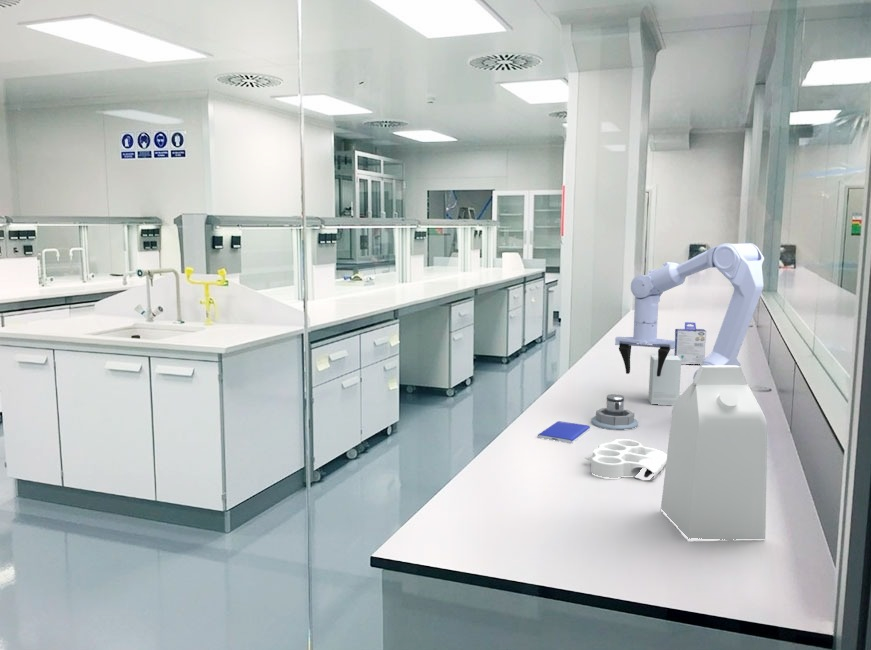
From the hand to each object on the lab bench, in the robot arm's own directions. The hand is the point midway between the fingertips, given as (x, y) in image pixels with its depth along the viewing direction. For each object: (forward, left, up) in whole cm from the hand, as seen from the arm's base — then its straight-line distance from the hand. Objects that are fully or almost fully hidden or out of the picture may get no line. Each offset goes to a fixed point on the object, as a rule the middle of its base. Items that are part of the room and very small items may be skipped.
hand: (643, 374), depth 179 cm
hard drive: (-17, +26, -11) cm, 33 cm away
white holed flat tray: (-40, +20, -10) cm, 46 cm away
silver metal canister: (-10, +11, -9) cm, 17 cm away
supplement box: (+9, -10, -10) cm, 17 cm away
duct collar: (-10, +11, -10) cm, 18 cm away
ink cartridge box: (+61, -43, -10) cm, 75 cm away
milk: (-68, +17, -10) cm, 71 cm away
